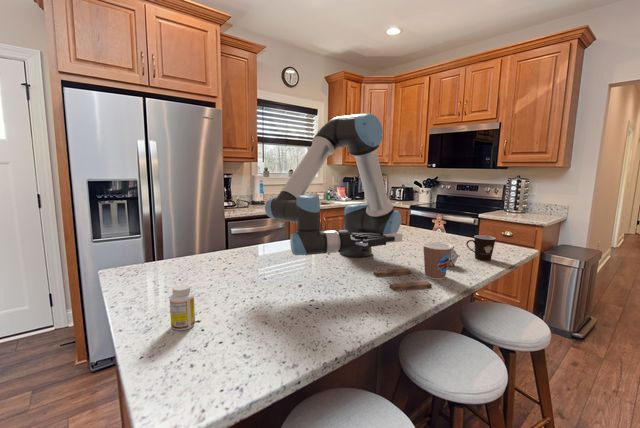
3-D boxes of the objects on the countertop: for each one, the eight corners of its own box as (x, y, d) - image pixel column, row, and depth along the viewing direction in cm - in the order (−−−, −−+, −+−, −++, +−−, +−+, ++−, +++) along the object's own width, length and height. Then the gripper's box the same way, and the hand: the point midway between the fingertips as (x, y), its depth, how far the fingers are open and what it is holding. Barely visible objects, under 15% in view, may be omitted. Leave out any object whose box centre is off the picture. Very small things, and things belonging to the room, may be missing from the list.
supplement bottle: (188, 318, 84) (186, 281, 83) (199, 325, 81) (197, 286, 79) (167, 326, 80) (164, 287, 79) (177, 334, 77) (175, 293, 75)
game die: (448, 272, 137) (460, 253, 138) (454, 272, 128) (467, 251, 130) (429, 260, 138) (441, 241, 140) (434, 259, 130) (447, 238, 132)
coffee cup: (439, 283, 114) (442, 250, 112) (415, 275, 122) (417, 244, 120) (455, 277, 120) (457, 246, 118) (430, 270, 128) (432, 240, 126)
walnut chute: (393, 290, 106) (393, 287, 106) (373, 273, 122) (373, 270, 122) (431, 287, 109) (431, 284, 109) (406, 271, 126) (406, 268, 126)
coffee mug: (493, 257, 147) (495, 236, 146) (494, 262, 140) (496, 240, 138) (465, 254, 152) (467, 233, 151) (465, 259, 144) (466, 237, 143)
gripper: (331, 247, 114) (392, 243, 120) (342, 258, 102) (410, 252, 107) (331, 226, 113) (393, 223, 119) (343, 234, 101) (411, 230, 106)
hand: (401, 237), depth 113 cm, fingers closed
